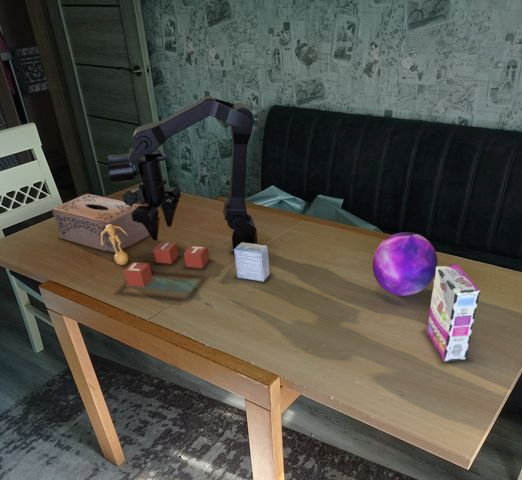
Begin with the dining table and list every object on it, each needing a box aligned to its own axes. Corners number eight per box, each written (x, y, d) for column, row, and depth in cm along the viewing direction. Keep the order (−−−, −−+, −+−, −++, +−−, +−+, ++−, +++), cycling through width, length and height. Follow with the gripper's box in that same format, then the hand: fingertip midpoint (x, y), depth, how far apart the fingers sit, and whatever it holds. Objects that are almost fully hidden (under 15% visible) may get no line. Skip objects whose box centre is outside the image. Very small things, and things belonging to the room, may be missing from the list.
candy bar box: (467, 360, 109) (481, 290, 99) (443, 362, 109) (455, 293, 99) (447, 329, 118) (458, 262, 108) (425, 332, 118) (434, 265, 108)
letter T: (209, 261, 153) (207, 246, 150) (202, 269, 149) (200, 254, 146) (193, 259, 154) (190, 245, 151) (186, 268, 150) (183, 253, 148)
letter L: (152, 278, 146) (149, 263, 143) (144, 287, 142) (140, 271, 139) (136, 276, 147) (132, 261, 144) (127, 285, 143) (123, 270, 141)
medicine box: (270, 274, 144) (268, 245, 139) (263, 282, 141) (261, 252, 135) (244, 270, 147) (241, 241, 142) (236, 278, 143) (233, 248, 138)
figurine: (113, 271, 152) (103, 232, 145) (103, 265, 155) (93, 226, 148) (138, 261, 156) (130, 222, 149) (128, 255, 160) (119, 217, 152)
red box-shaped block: (178, 257, 156) (176, 242, 154) (171, 264, 152) (168, 250, 150) (163, 255, 158) (160, 241, 155) (155, 263, 154) (152, 249, 151)
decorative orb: (431, 310, 124) (440, 251, 116) (367, 304, 129) (370, 247, 120) (434, 279, 136) (442, 223, 127) (375, 274, 140) (378, 220, 131)
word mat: (204, 277, 145) (204, 276, 145) (187, 300, 136) (187, 298, 135) (139, 271, 150) (139, 270, 150) (118, 293, 141) (117, 291, 141)
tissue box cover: (149, 235, 170) (142, 205, 164) (115, 253, 161) (108, 222, 155) (94, 221, 183) (86, 193, 177) (60, 238, 173) (51, 208, 168)
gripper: (140, 166, 150) (151, 218, 159) (107, 189, 136) (121, 245, 145) (176, 166, 147) (185, 220, 156) (146, 191, 133) (157, 248, 142)
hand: (162, 233), depth 150 cm, fingers open, 9 cm apart
